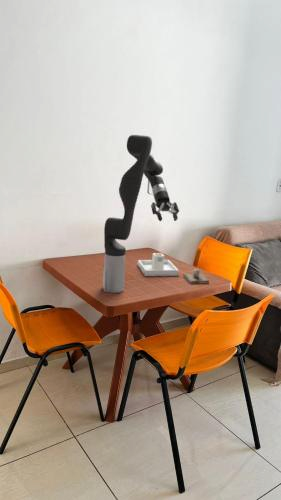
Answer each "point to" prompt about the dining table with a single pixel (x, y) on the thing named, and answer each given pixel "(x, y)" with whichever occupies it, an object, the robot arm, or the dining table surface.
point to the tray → (149, 271)
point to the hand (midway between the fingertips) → (168, 220)
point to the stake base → (197, 280)
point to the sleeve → (158, 261)
